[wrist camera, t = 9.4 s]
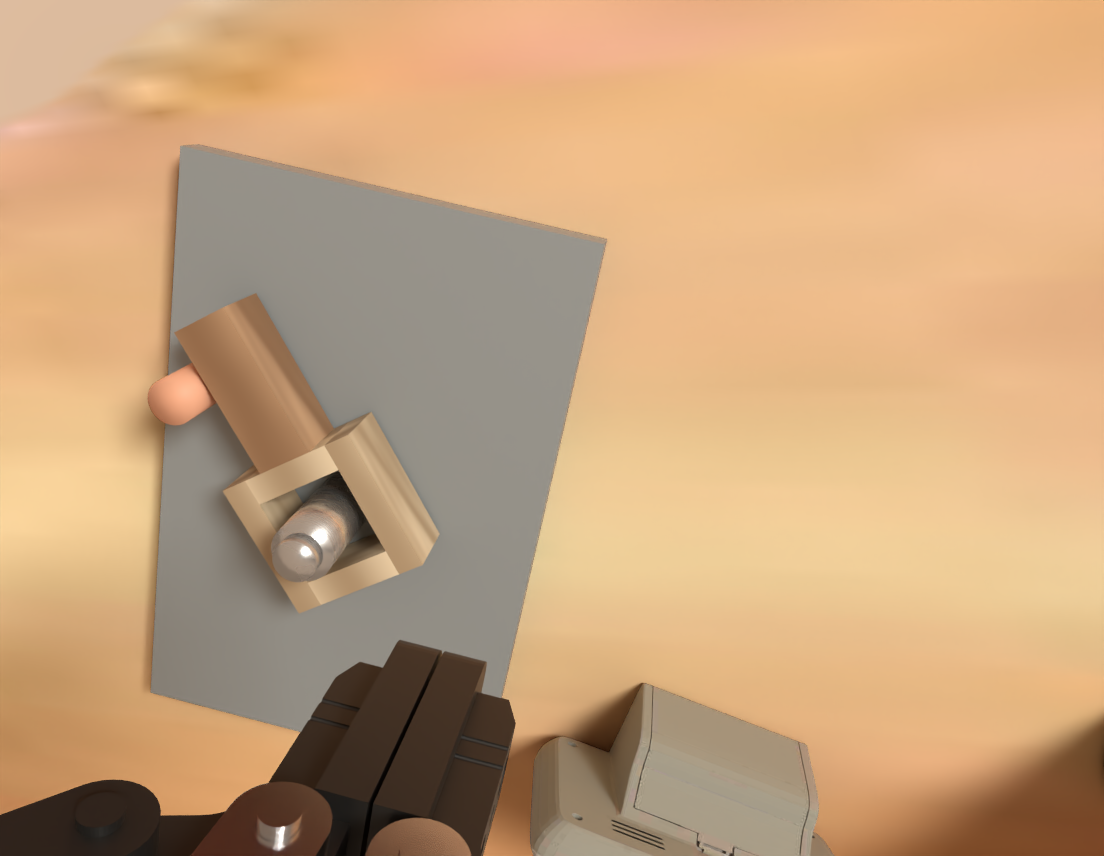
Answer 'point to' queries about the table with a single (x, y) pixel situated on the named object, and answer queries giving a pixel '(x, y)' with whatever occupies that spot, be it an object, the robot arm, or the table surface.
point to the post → (317, 532)
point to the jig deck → (352, 391)
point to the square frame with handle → (303, 453)
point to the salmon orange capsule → (180, 396)
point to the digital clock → (676, 788)
